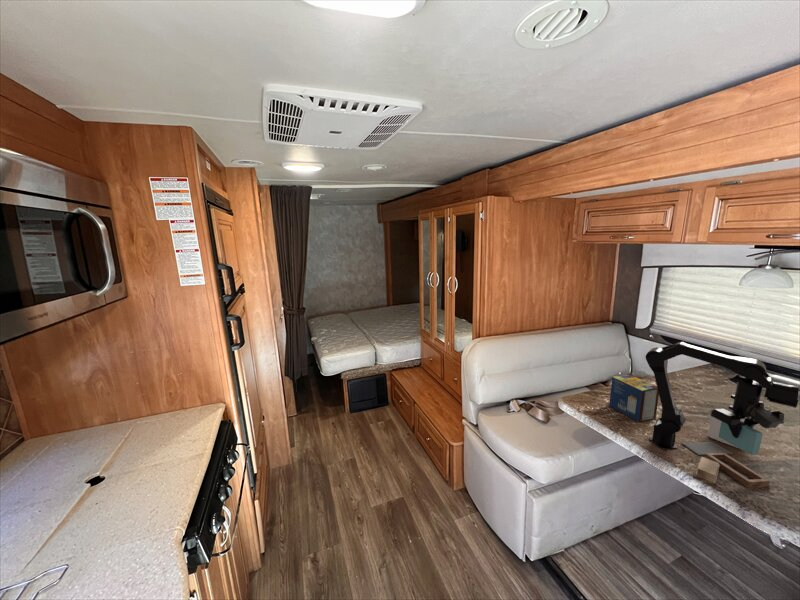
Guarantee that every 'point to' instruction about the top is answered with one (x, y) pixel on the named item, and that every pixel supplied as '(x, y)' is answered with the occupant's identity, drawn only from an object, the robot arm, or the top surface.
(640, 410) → the protein box
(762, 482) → the walnut rack
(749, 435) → the teal block
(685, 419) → the robot arm
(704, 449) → the charcoal mat
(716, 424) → the photo printer
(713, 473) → the offcut stack
